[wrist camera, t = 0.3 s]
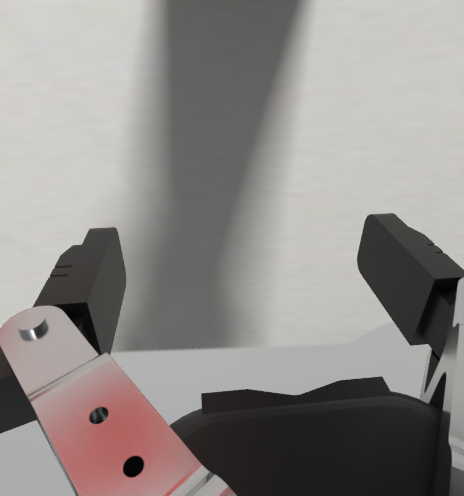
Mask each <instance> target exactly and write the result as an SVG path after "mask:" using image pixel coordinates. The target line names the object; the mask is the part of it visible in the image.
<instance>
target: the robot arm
mask: <svg viewBox="0 0 464 496" xmlns="http://www.w3.org/2000/svg"><path fill="white" fill-rule="evenodd" d="M357 263H358V268H359V271H360V273H361V275H362V276H363V278H364V279H365V281H366V282H367V283H368V285H369V286H370V288H371V289H372V291H373V292H374V294H375V295H376V296H377V298H378V299H379V301H380V302H381V304H382V305H383V307H384V308H385V310H386V311H387V312H388V314H389V315H390V317H391V318H392V320H393V321H394V323H395V324H396V325H397V327H398V328H399V330H400V331H401V333H402V334H403V336H404V337H405V338H406V340H407V341H408V343H409V344H410V345H421V344H429V345H430V347H431V349H430V352H429V354H428V356H427V361H426V367H425V372H424V377H423V383H422V388H421V394H420V399H417V398H414V397H411V396H408V395H405V394H401V393H396V392H391V391H390V390H389V388H388V386H387V385H386V383H385V381H384V379H383V377H372V378H362V379H351V380H341V381H337V382H334V383H331V384H329V385H326V386H323V387H320V388H317V389H315V390H312V391H309V392H306V393H304V394H301V395H286V394H279V393H272V392H264V391H257V390H248V389H245V390H234V391H223V392H213V393H202V394H201V396H202V409H199V410H197V411H193V412H191V413H189V414H187V415H185V416H183V417H182V418H180V419H179V420H177V421H175V422H174V423H172V424H171V425H170V426H169V425H168V424H167V423H166V421H165V420H164V419H163V418H162V417H161V416H160V414H159V413H158V412H157V411H156V410H155V408H154V407H153V406H152V405H151V404H150V402H149V401H148V400H147V399H146V398H145V396H144V395H143V394H142V393H141V392H140V390H139V389H138V388H137V387H136V386H135V384H134V383H133V382H132V381H131V380H130V379H129V377H128V376H127V375H126V374H125V373H124V371H123V370H122V369H121V368H120V367H119V365H118V364H117V363H116V362H115V361H114V359H113V358H112V357H111V356H110V353H111V349H112V344H113V340H114V336H115V331H116V327H117V323H118V318H119V314H120V310H121V305H122V301H123V297H124V292H125V288H126V272H125V266H124V261H123V255H122V250H121V245H120V240H119V235H118V231H117V229H116V228H115V227H112V228H93V229H89V231H88V233H87V235H86V237H85V240H84V242H83V244H82V245H73V246H72V247H71V248H69V249H68V250H67V251H66V252H64V253H63V254H62V255H61V256H60V258H59V260H58V261H57V263H56V265H55V268H54V269H53V271H52V273H51V274H50V278H48V280H47V282H46V284H45V286H44V287H43V289H42V291H41V293H40V295H39V297H38V298H37V300H36V302H35V304H34V306H33V308H30V309H27V310H24V311H22V312H20V313H18V314H16V315H14V316H13V317H11V318H10V319H9V320H7V321H6V322H5V323H4V324H3V326H2V327H1V328H0V433H3V432H5V431H8V430H11V429H13V428H16V427H19V426H21V425H24V424H27V423H29V422H32V421H35V420H37V421H38V423H39V425H40V427H41V429H42V431H43V433H44V435H45V437H46V439H47V441H48V443H49V445H50V447H51V449H52V451H53V452H54V454H55V456H56V458H57V460H58V462H59V464H60V466H61V468H62V470H63V472H64V474H65V476H66V478H67V480H68V482H69V483H70V486H71V487H72V489H73V492H74V494H75V496H464V270H463V269H462V268H461V267H460V266H459V265H458V264H456V263H455V262H454V261H453V260H452V259H451V258H450V257H449V256H448V255H446V254H445V253H443V251H442V250H441V249H440V248H439V247H437V246H435V245H434V243H433V242H432V241H431V240H430V239H429V238H427V237H426V236H425V235H424V234H422V233H420V232H418V231H416V230H414V229H412V228H410V227H408V226H407V225H406V224H405V223H404V222H403V221H402V220H400V219H399V218H398V217H397V216H396V215H395V214H393V213H389V214H370V215H368V216H367V218H366V220H365V223H364V228H363V233H362V237H361V242H360V246H359V251H358V256H357Z"/></svg>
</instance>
